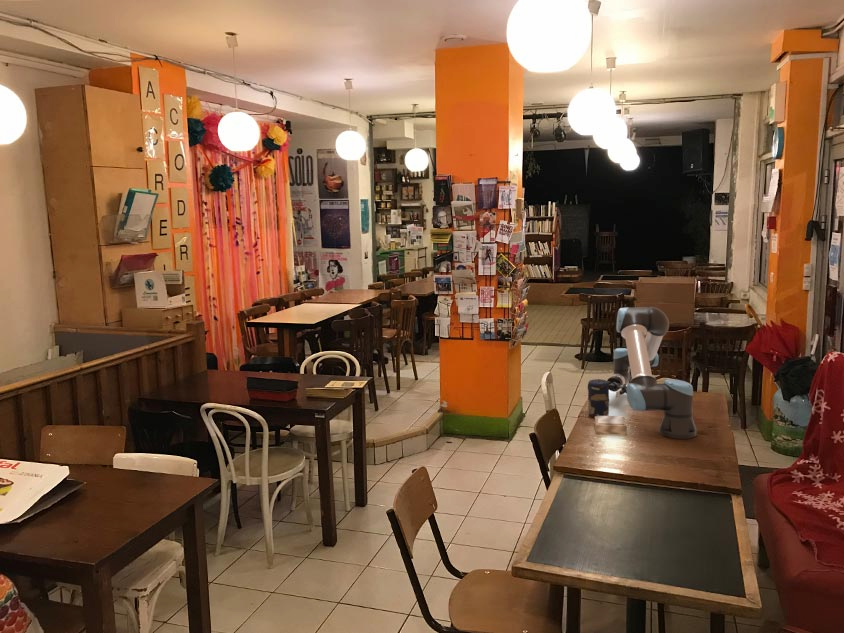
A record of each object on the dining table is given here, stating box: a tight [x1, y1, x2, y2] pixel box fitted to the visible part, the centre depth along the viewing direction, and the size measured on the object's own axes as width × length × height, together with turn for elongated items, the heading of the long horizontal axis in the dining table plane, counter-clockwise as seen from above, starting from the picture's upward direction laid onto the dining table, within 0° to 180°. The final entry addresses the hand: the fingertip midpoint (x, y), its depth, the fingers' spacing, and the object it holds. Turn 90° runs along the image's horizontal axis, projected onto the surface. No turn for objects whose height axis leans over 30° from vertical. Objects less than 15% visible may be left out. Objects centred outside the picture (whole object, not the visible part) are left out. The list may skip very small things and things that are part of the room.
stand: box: [594, 415, 628, 435], centre depth 305 cm, size 13×13×5 cm
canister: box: [587, 378, 610, 418], centre depth 325 cm, size 10×10×18 cm
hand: (602, 393), depth 331 cm, fingers open, 13 cm apart
